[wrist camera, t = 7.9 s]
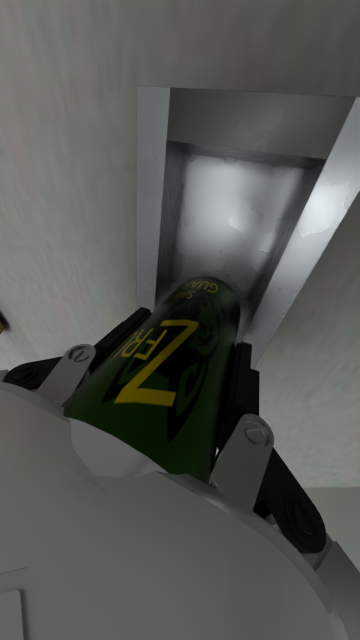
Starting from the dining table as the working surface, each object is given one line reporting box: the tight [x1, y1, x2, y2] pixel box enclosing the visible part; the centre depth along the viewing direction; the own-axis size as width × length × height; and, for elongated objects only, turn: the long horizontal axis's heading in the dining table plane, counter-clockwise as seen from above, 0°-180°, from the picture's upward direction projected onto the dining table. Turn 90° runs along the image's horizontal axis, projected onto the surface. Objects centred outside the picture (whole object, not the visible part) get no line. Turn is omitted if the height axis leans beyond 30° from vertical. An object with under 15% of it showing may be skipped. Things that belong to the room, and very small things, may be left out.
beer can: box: [57, 278, 241, 511], centre depth 9 cm, size 5×5×12 cm
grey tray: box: [136, 86, 360, 369], centre depth 11 cm, size 13×10×3 cm
